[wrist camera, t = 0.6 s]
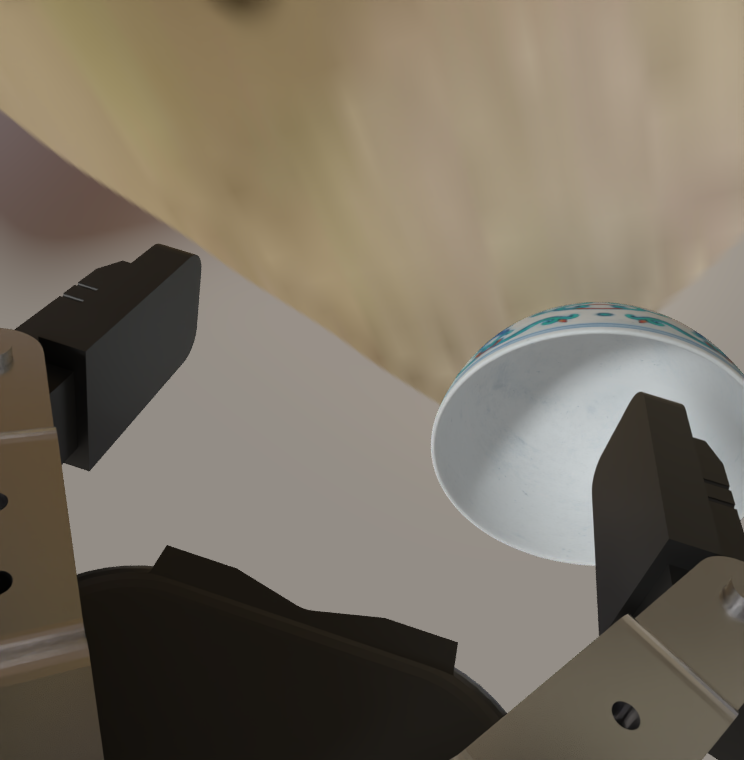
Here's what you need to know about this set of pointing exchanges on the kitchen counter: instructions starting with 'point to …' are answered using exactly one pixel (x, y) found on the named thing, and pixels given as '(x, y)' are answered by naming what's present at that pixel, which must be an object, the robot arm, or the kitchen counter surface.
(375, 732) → the robot arm
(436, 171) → the kitchen counter surface
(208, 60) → the kitchen counter surface
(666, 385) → the chinaware
